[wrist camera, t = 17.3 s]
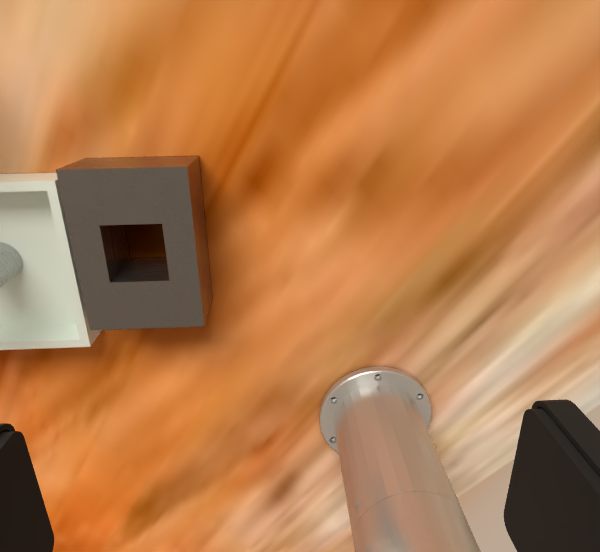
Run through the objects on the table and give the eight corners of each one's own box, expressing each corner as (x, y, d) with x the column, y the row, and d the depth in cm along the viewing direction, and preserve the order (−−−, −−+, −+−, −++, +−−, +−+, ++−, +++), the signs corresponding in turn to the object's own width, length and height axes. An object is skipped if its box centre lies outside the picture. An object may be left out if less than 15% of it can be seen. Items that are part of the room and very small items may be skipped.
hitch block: (212, 297, 47) (204, 326, 42) (112, 301, 47) (89, 330, 41) (199, 155, 42) (187, 166, 36) (85, 158, 41) (55, 169, 36)
